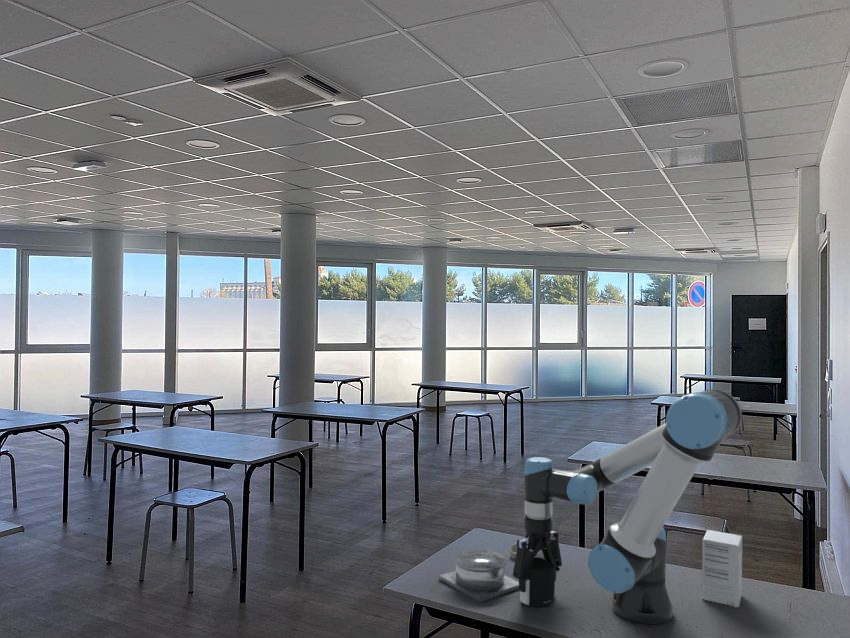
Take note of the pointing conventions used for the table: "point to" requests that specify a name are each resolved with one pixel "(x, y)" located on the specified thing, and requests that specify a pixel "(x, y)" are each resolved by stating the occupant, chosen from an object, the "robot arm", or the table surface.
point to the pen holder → (541, 583)
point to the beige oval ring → (513, 551)
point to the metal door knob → (480, 575)
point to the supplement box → (722, 567)
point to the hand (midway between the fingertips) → (537, 598)
